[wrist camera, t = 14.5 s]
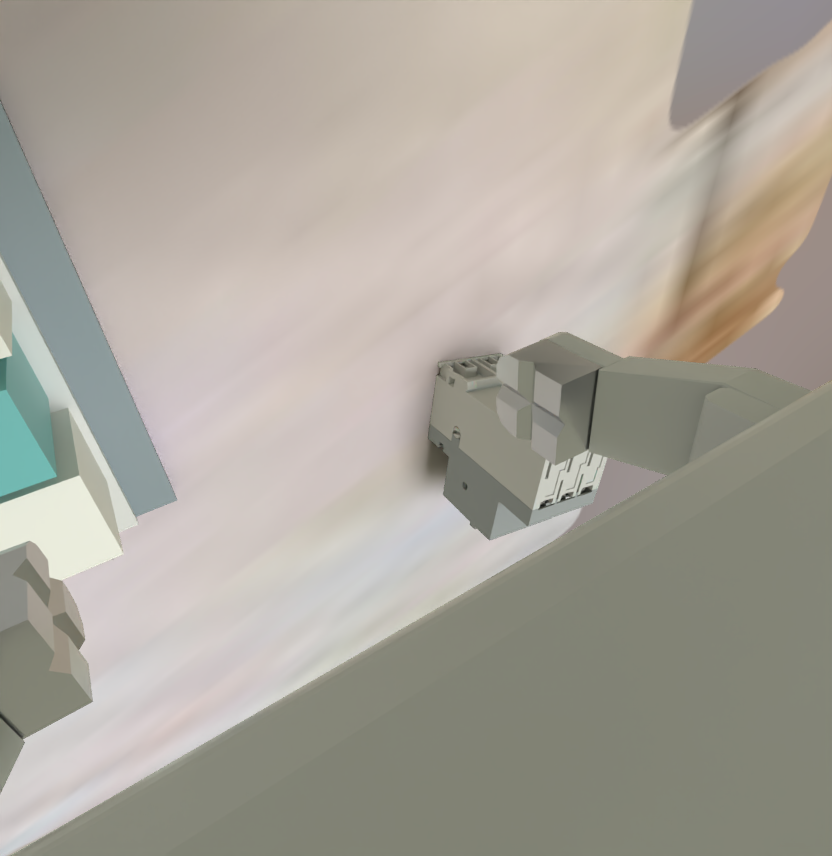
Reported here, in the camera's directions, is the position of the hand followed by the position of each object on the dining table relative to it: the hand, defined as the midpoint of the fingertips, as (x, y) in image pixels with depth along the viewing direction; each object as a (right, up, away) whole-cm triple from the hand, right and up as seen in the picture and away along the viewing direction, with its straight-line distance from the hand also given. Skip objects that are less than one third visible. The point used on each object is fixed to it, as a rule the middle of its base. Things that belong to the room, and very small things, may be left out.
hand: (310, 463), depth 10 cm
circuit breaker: (+6, +1, +47) cm, 48 cm away
